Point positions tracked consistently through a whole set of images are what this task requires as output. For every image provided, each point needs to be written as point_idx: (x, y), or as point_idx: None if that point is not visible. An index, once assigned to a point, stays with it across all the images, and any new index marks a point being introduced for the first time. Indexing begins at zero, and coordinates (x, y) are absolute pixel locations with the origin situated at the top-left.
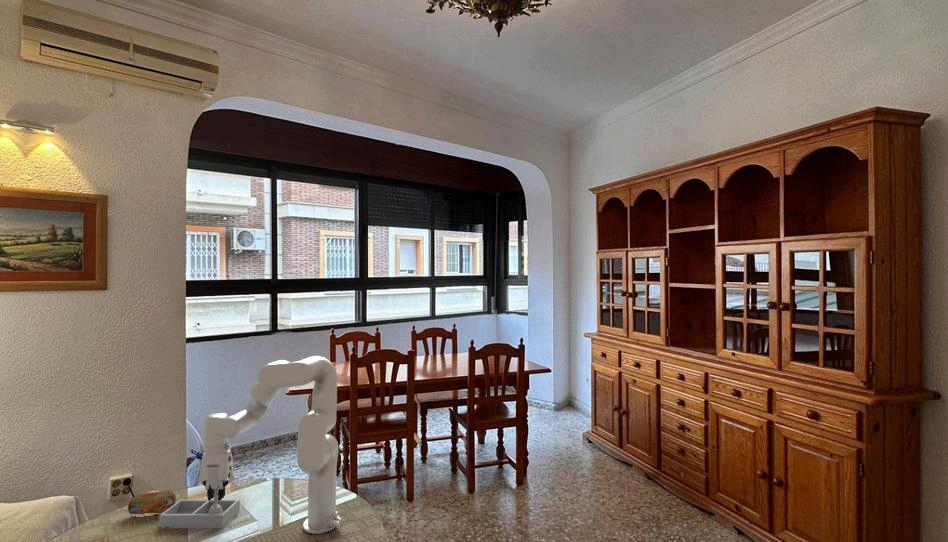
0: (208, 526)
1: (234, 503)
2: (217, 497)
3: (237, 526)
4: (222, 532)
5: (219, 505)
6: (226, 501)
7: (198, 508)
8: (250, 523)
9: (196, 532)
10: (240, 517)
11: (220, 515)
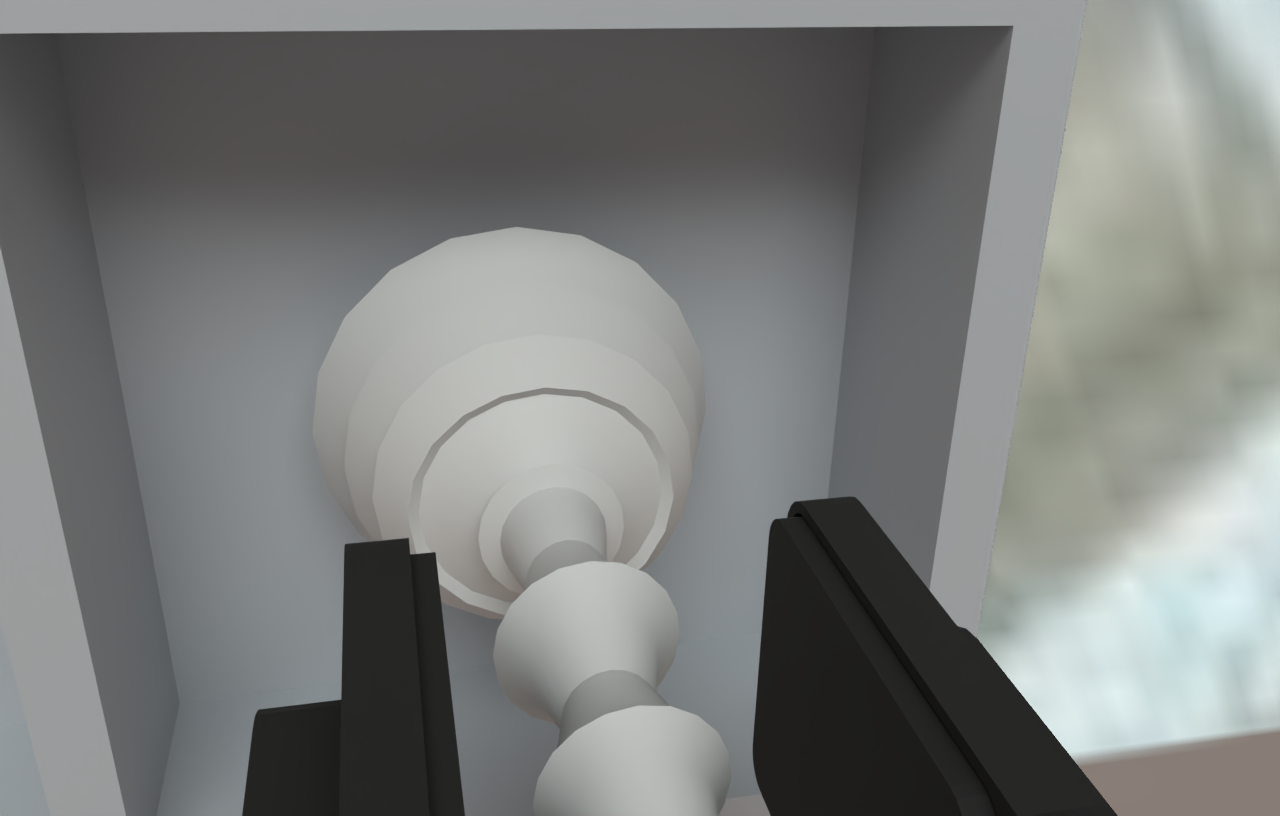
0: None
1: (1015, 233)
2: (650, 654)
3: (1076, 545)
4: None
5: (627, 432)
6: (654, 25)
7: (10, 622)
8: (1276, 431)
9: None
10: None
11: None
